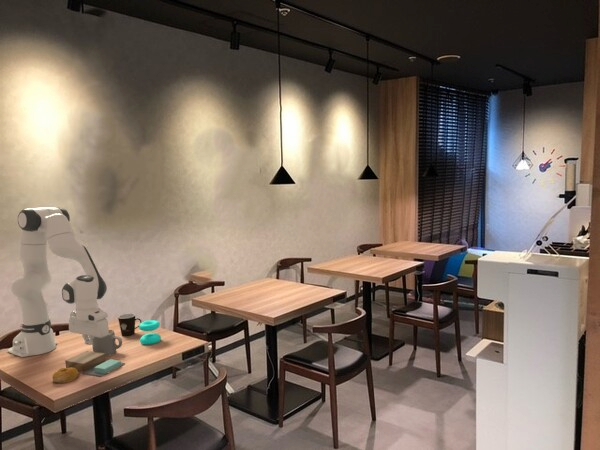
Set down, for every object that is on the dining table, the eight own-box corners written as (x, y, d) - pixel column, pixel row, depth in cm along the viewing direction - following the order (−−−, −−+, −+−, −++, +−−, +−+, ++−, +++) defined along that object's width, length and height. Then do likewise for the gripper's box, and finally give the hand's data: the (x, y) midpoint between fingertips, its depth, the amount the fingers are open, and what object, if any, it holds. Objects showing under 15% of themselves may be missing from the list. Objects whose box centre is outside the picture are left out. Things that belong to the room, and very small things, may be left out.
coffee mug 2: (116, 335, 248) (114, 317, 247) (130, 330, 255) (128, 312, 254) (129, 339, 242) (127, 320, 241) (143, 334, 249) (142, 315, 247)
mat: (82, 373, 201) (82, 372, 201) (107, 361, 214) (107, 360, 214) (100, 376, 197) (100, 375, 197) (125, 363, 210) (125, 363, 210)
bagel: (83, 372, 203) (82, 361, 202) (72, 384, 192) (71, 372, 191) (59, 374, 202) (58, 363, 202) (47, 386, 191) (46, 374, 191)
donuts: (154, 325, 230) (135, 325, 231) (156, 345, 231) (136, 345, 232) (162, 319, 240) (143, 319, 241) (164, 338, 241) (145, 338, 242)
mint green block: (104, 369, 199) (105, 373, 199) (120, 360, 207) (121, 365, 208) (94, 367, 201) (94, 371, 202) (110, 359, 210) (110, 363, 210)
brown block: (66, 369, 206) (65, 360, 206) (88, 359, 217) (87, 350, 217) (84, 372, 202) (83, 363, 202) (106, 362, 213) (105, 353, 213)
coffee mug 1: (88, 357, 220) (86, 336, 219) (102, 349, 229) (100, 329, 228) (114, 358, 217) (112, 337, 216) (126, 350, 226) (125, 330, 225)
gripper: (64, 312, 206) (66, 343, 208) (98, 318, 198) (100, 350, 199) (76, 308, 212) (78, 338, 213) (110, 314, 204) (112, 345, 205)
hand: (89, 344), depth 206 cm, fingers closed
